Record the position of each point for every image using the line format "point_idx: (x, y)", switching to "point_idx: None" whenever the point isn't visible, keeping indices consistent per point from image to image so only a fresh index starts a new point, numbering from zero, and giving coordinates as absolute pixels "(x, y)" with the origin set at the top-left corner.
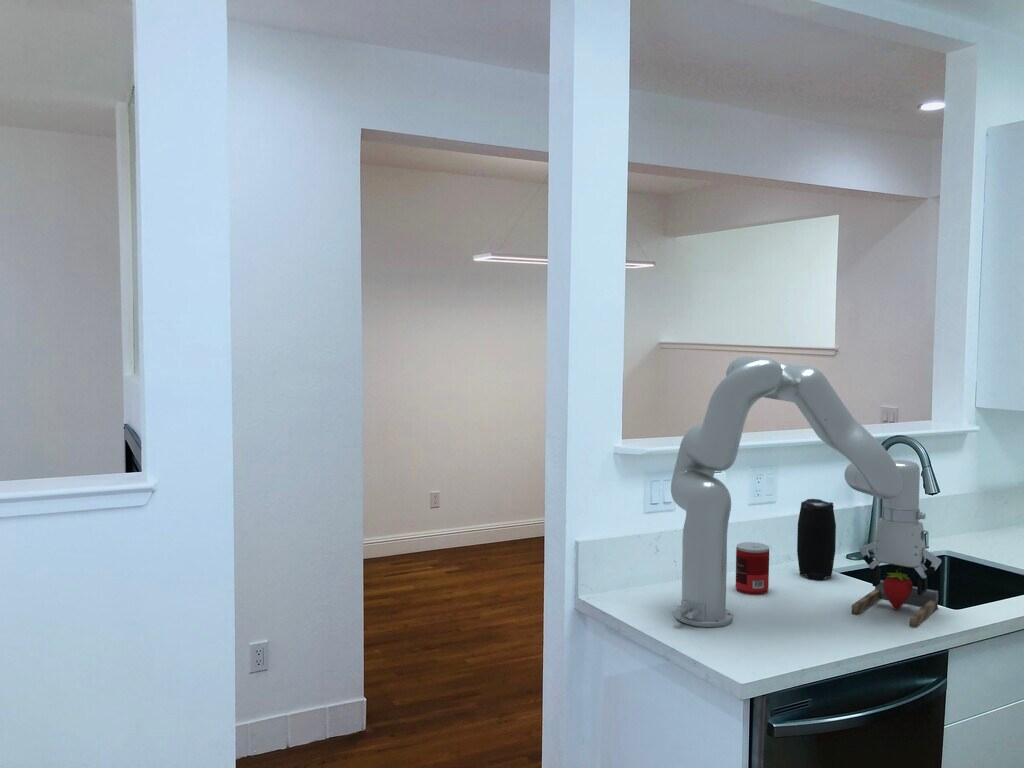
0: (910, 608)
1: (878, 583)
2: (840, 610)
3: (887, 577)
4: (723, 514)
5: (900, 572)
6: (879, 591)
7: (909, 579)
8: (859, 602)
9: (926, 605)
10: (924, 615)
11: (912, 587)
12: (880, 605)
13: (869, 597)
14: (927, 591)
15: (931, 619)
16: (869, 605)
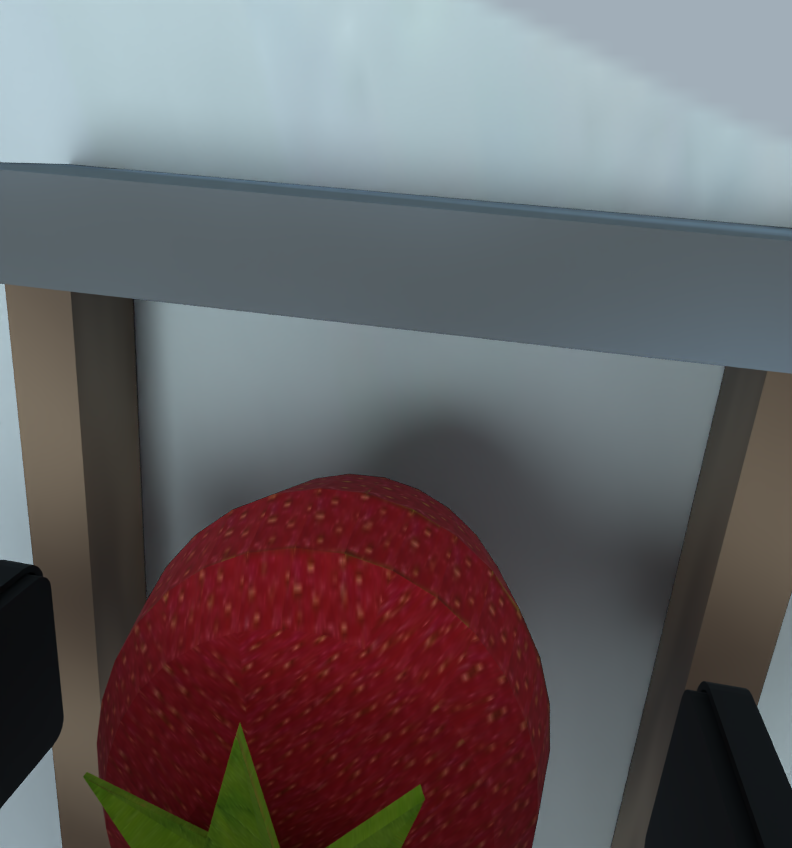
0: (512, 436)
1: (44, 648)
2: (21, 807)
3: (109, 821)
4: None
5: (242, 759)
6: (77, 293)
7: (475, 766)
8: (89, 833)
9: (730, 621)
10: None
11: (547, 731)
12: (220, 508)
13: (95, 645)
14: (765, 365)
15: (767, 693)
16: (143, 589)
